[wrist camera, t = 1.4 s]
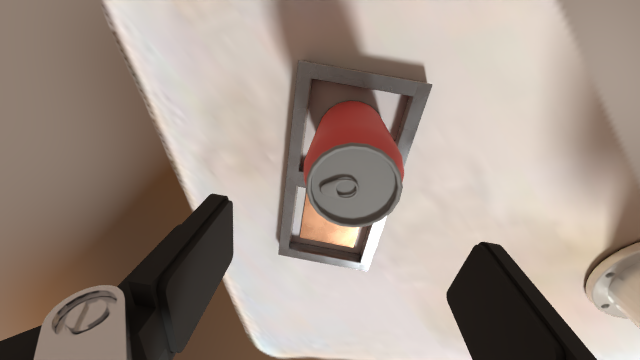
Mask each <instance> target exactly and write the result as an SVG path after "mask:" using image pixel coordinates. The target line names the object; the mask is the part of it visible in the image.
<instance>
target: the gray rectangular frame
mask: <svg viewBox="0 0 640 360" xmlns="http://www.w3.org/2000/svg"><path fill="white" fill-rule="evenodd" d="M312 78H313V79H318V80H324V81H330V82H335V83H341V84H346V85H352V86H357V87H363V88H369V89H374V90H380V91H385V92H391V93H397V94H402V95H408V96H409V99H408V102H407V105H406V108H405V112H404V115H403V118H402V121H401V124H400V128H399V131H398V134H397V137H396V140H395V144H396V146H397V147H398V149H399V151H400V153H401V155H402V159H403V168H404V165H405V162H406V159H407V156H408V154H409V151H410V148H411V145H412V142H413V139H414V136H415V133H416V131H417V128H418V125H419V122H420V119H421V116H422V113H423V110H424V108H425V105H426V102H427V99H428V96H429V93H430V90H431V87H432V85H433V84H429V83H425V82H419V81H414V80H408V79H403V78H397V77H391V76H386V75H380V74H374V73H369V72H363V71H357V70H352V69H346V68H341V67H335V66H329V65H324V64H318V63H312V62H307V61H298V70H297V80H296V90H295V99H294V109H293V118H292V128H291V138H290V147H289V157H288V167H287V176H286V186H285V195H284V205H283V215H282V224H281V234H280V243H279V253H278V255H283V256H288V257H294V258H299V259H304V260H309V261H314V262H320V263H325V264H330V265H335V266H341V267H346V268H351V269H356V270H361V271H367V272H368V269H369V266H370V263H371V260H372V257H373V254H374V252H375V249H376V246H377V243H378V240H379V237H380V234H381V231H382V228H383V226H384V223H385V220H386V217H387V216H386V217H385V218H384V219H382V220H381V221H379V222H376V223H374V224H371V225H369V227H368V230H367V233H366V236H365V240H364V243H363V246H362V249H361V252H360V254H354V253H349V252H344V251H339V250H334V249H328V248H323V247H318V246H313V245H307V244H302V243H297V242H292V241H291V236H292V229H293V221H294V214H295V206H296V198H297V191H298V187H303V188H306V185H305V181H304V166H301V160H302V153H303V145H304V138H305V130H306V122H307V115H308V107H309V100H310V92H311V84H312ZM358 230H359V227H356V228H352V227H343V226H339V225H336V224H334V223H331V222H329V221H327V220H326V219H324V218H323V217H322V216H320V215H319V214H318V213H317V212H316V211H315V209H314V208H313V206H312V205H311V204H310V202H309V198H308V195H307V193H306V200H305V206H304V213H303V220H302V226H301V233H300V238H305V239H310V240H316V241H321V242H326V243H331V244H337V245H342V246H347V247H352V248H353V247H354V244H355V241H356V237H357V234H358Z"/></svg>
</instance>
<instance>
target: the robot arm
mask: <svg viewBox="0 0 640 360" xmlns="http://www.w3.org/2000/svg"><path fill="white" fill-rule="evenodd" d="M232 258H233V203H232V201H229V200H228V197H227V196H223V195H217V194H210V195H209V196H208V197H207V198H206V199H205V200H204V201H203V202H202V204H201V205H200V206H199V207H198V208H197V209H196V210H195V211H194V212H193V213H192V214H191V215H190V216H189V217H188V218H187V219H186V220H185V221H184V222H183V223H182V224H180V225H178V226H176V227H175V228H174V229H173V230H172V231H171V232H170V233H169V234H168V235H167V236H166V237H165V238H164V240H162V241H161V242H160V243H159V245H157V247H156V248H155V249H154V250H153V251H152V252H151V253H150V254H149V255H148V256H147V257H146V258H145V259H144V260H143V261H142V262H141V263H140V264H139V265H138V266H137V267H136V268H135V269H134V270H133V271H132V272H131V273H130V274H129V275H128V276H127V277H126V278H125V279H124V280H123V281H122V282H121V283H120V284H119V285H118V286H117V287H114V286H111V285H100V286H95V287H90V288H87V289H85V290H82V291H79V292H77V293H75V294H73V295H71V296H70V297H68V298H66V299H64V300H63V301H62V302H61V303H59V304H58V305H57V306H56V307H54V309H52V311H51V312H50V313H49V314H48V315H47V316H46V318H45V320H44V322H43V324H42V325H41V326H38V327H36V328H33V329H31V330H28V331H25V332H23V333H20V334H18V335H15V336H13V337H10V338H7V339H5V340H2V341H0V360H172V359H173V357H174V356H175V353H176V352H177V353H180V352H182V350H183V349H184V347H185V346H186V344H187V342H188V341H189V339H190V337H191V335H192V333H193V331H194V329H195V328H196V326H197V324H198V322H199V320H200V318H201V316H202V315H203V312H204V311H205V309H206V307H207V305H208V304H209V302H210V300H211V298H212V296H213V294H214V292H215V291H216V289H217V287H218V285H219V283H220V281H221V280H222V278H223V276H224V274H225V272H226V270H227V268H228V267H229V265H230V263H231V261H232ZM586 294H587V297H588V298H589V300H590V301H591V302H592V303H593V304H594V305H595V306H596V307H597V308H598V309H599V310H601V311H602V312H604V313H606V314H608V315H611V316H614V317H620V318H626V319H630V320H631V321H632V322H633V323H634V324H635V325H636V326H637V327H638V328H640V242H638V243H635V244H633V245H630V246H628V247H626V248H623V249H621V250H619V251H618V252H616V253H614V254H612V255H610V256H609V257H608V258H606V259H605V260H604V261H602V262H601V263H600V264H599V265H598V266H597V267H596V268H595V269H594V270H593V272H592V273H591V274H590V276H589V278H588V280H587V283H586ZM447 301H448V304H449V306H450V308H451V311H452V313H453V315H454V318H455V320H456V322H457V325H458V327H459V329H460V332H461V334H462V336H463V339H464V341H465V343H466V346H467V348H468V350H469V353H470V355H471V357H472V360H597V359H596V358H595V357H594V355H593V354H592V353H591V352H590V351H589V350H588V348H587V347H586V346H585V345H584V344H583V342H582V341H581V340H580V339H579V338H578V336H577V335H576V334H575V333H574V332H573V330H572V329H571V328H570V327H569V326H568V325H567V323H566V322H565V321H564V320H563V319H562V317H561V316H560V315H559V314H558V313H557V311H556V310H555V309H554V308H553V307H552V305H551V304H550V303H549V302H548V301H547V300H546V298H545V297H544V296H543V295H542V294H541V292H540V291H539V290H538V289H537V288H536V286H535V285H534V284H533V283H532V282H531V280H530V279H529V278H528V277H527V276H526V275H525V273H524V272H523V271H522V270H521V269H520V267H519V266H518V265H517V264H516V263H515V261H514V260H513V259H512V258H511V257H510V255H509V254H508V253H507V252H506V251H505V250H504V248H503V247H502V246H501V245H498V244H493V243H487V242H481V243H479V244H478V245H475V246H474V247H473V249H472V251H471V252H470V254H469V256H468V257H467V259H466V261H465V262H464V264H463V266H462V267H461V269H460V271H459V272H458V274H457V276H456V277H455V279H454V281H453V282H452V284H451V286H450V287H449V289H448V291H447Z"/></svg>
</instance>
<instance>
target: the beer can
mask: <svg viewBox="0 0 640 360" xmlns="http://www.w3.org/2000/svg"><path fill="white" fill-rule="evenodd" d="M403 177H404V168H403V159H402V155H401V153H400V151H399V149H398V147H397V146H396V144H395V142H394V140H393V138H392V137H391V135H390V133H389V131H388V130H387V128H386V126H385V124H384V122H383V121H382V119H381V117H380V115H379V114H378V113H377V112H376V111H375V110H374V109H373V108H372V107H371V106H369V105H367V104H365V103H363V102H360V101H346V102H342V103H338V104H336V105H335V106H333V107H332V108H330V109H329V110H328V111H327V112H326V113H325V115H324V116H323V117H322V119H321V122H320V124H319V126H318V129H317V131H316V133H315V136H314V138H313V141H312V143H311V145H310V148H309V150H308V153H307V155H306V158H305V160H304V181H305V185H306V192H307V195H308V198H309V202H310V204H311V205H312V206H313V208H314V209H315V211H316V212H317V213H318V214H319V215H320V216H322V217H323V218H324V219H326V220H327V221H329V222H331V223H334V224H336V225H339V226H343V227H352V228H356V227H363V226H369V225H371V224H374V223H376V222H379V221H381V220H382V219H384V218H385V217H386V216H387V215H389V214H390V213H391V212H392V211H393V209H394V208H395V206H396V205H397V203H398V202H399V200H400V196H401V192H402V188H403V186H402V181H403Z"/></svg>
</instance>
